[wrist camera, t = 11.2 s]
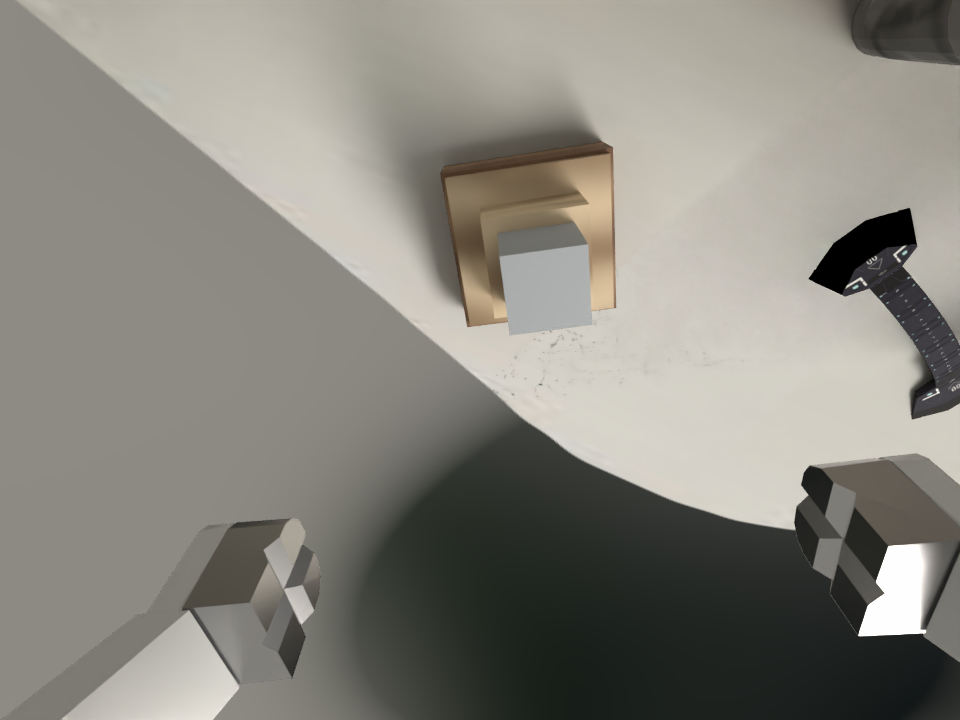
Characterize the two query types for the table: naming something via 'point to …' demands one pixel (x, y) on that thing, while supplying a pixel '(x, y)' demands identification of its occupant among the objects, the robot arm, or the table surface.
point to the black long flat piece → (897, 299)
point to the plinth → (523, 181)
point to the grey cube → (545, 278)
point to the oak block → (528, 217)
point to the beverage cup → (909, 30)
